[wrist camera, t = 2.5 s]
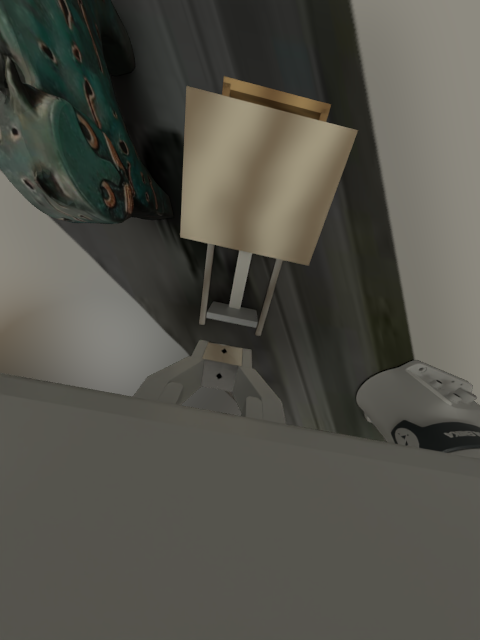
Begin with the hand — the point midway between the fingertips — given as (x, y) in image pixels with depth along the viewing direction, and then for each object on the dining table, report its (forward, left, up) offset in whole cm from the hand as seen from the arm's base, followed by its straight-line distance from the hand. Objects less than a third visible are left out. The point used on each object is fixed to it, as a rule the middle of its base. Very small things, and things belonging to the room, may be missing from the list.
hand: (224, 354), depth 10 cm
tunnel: (0, -5, -21) cm, 22 cm away
